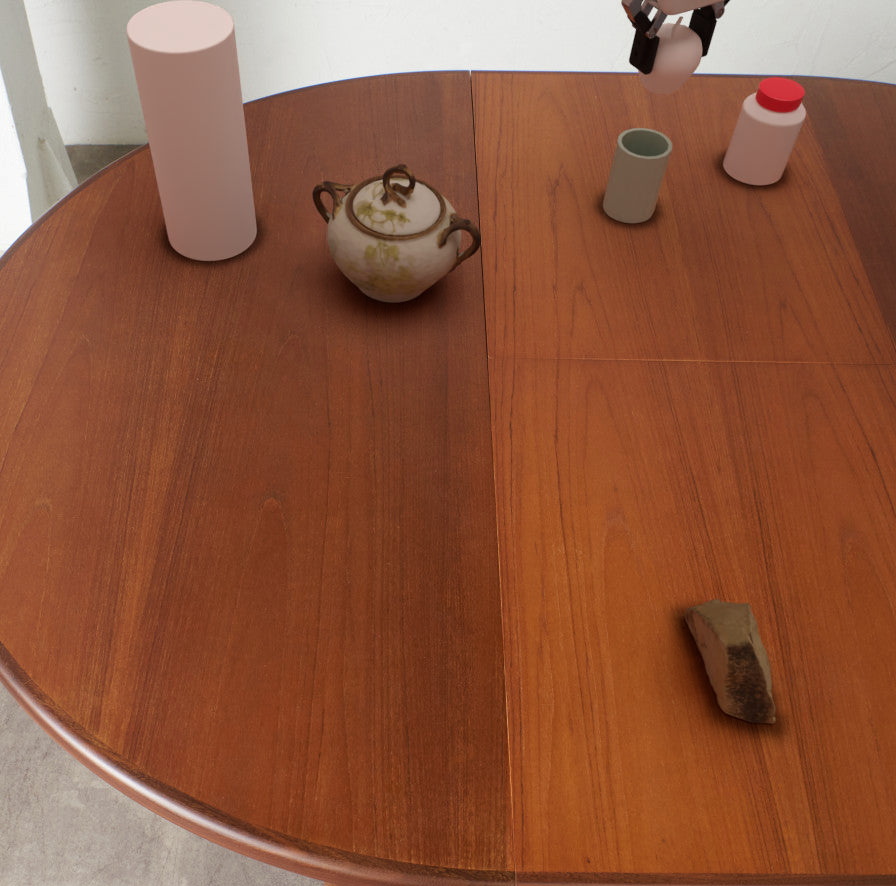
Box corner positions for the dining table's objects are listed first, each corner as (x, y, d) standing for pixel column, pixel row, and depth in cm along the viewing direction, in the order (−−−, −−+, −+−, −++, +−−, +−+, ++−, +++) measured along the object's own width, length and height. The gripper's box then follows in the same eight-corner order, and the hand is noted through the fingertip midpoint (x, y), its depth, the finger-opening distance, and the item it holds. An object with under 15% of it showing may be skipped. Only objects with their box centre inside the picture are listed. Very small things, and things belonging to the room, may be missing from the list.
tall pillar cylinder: (152, 248, 112) (105, 39, 92) (194, 198, 118) (159, -9, 98) (232, 270, 110) (203, 60, 90) (271, 218, 116) (251, 10, 96)
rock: (658, 583, 82) (651, 674, 76) (743, 544, 77) (744, 639, 70) (734, 650, 86) (734, 743, 79) (821, 617, 80) (829, 715, 73)
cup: (632, 187, 121) (649, 122, 114) (664, 214, 118) (683, 149, 111) (592, 201, 119) (606, 136, 112) (623, 229, 116) (640, 164, 109)
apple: (636, 104, 103) (654, 31, 97) (623, 70, 108) (639, -2, 101) (698, 103, 104) (720, 30, 97) (683, 69, 108) (703, -3, 101)
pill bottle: (773, 192, 121) (805, 112, 112) (714, 174, 123) (741, 94, 114) (789, 162, 125) (821, 83, 116) (732, 145, 127) (760, 65, 118)
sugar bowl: (493, 263, 112) (509, 149, 100) (451, 344, 103) (463, 230, 91) (341, 222, 116) (338, 108, 104) (289, 297, 107) (279, 182, 95)
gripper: (670, -92, 84) (626, 96, 99) (811, -127, 90) (750, 56, 104) (618, -122, 88) (583, 63, 102) (757, -154, 93) (705, 26, 108)
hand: (667, 58), depth 103 cm, fingers closed on apple, 7 cm apart
